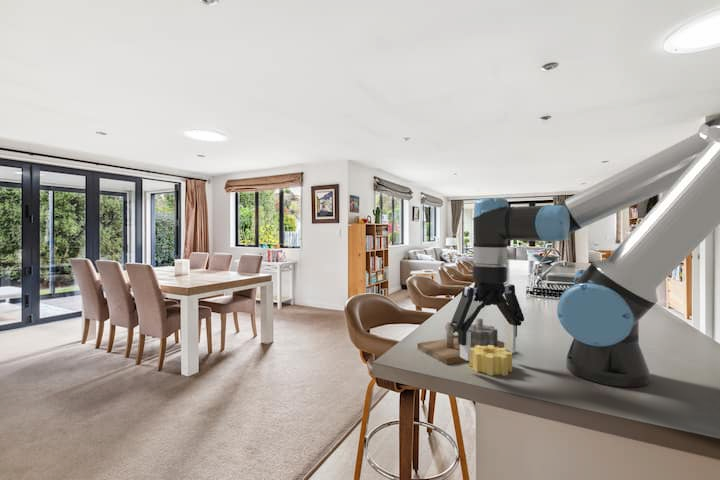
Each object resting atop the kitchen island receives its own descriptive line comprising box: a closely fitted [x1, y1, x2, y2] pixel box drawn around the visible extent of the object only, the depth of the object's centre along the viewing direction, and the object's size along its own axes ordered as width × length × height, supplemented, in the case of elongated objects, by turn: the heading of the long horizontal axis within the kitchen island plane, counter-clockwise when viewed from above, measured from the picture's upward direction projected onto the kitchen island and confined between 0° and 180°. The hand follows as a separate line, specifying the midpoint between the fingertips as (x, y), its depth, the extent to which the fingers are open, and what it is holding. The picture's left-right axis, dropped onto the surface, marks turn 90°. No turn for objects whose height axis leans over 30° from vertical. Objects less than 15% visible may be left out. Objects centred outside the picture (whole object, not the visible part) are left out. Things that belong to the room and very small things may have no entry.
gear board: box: [417, 317, 509, 365], centre depth 94 cm, size 13×22×8 cm, turn 113°
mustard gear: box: [469, 345, 513, 377], centre depth 81 cm, size 9×9×4 cm
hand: (488, 354), depth 82 cm, fingers open, 13 cm apart
